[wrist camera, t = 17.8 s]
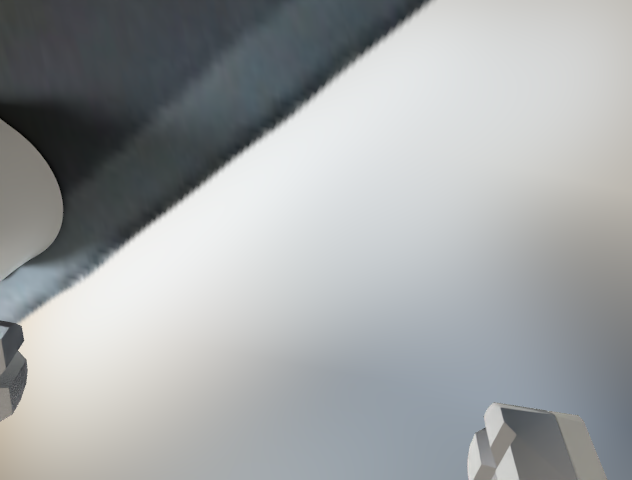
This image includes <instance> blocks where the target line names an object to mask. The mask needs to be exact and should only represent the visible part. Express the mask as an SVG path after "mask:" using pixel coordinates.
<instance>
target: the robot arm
mask: <svg viewBox="0 0 632 480" xmlns="http://www.w3.org/2000/svg"><path fill="white" fill-rule="evenodd" d="M62 219H63V201H62V196H61V192H60V188H59V186H58V183H57V180H56V178H55V176H54V174H53V172H52V170H51V169H50V167H49V165H48V164H47V162H46V161H45V159H44V158H43V157H42V156H41V154H40V153H39V152H38V151H37V150H36V148H35V147H34V146H33V145H32V144H31V143H30V142H29V141H28V140H27V139H26V138H24V137H23V136H22V135H21V134H20V133H18V132H17V131H16V130H15V129H13V128H12V127H11V126H9V125H8V124H6V123H5V122H4V121H2V120H1V119H0V282H1V281H2V280H3V279H4V278H6V277H7V276H8V275H9V274H10V273H12V272H13V271H14V270H16V269H17V268H18V267H20V266H21V265H23V264H24V263H26V262H27V261H29V260H30V259H32V258H34V257H35V256H37V255H39V254H40V253H42V252H43V251H45V250H46V249H47V248H48V247H49V246H50V245H51V244H52V243H53V241H54V240H55V238H56V237H57V235H58V233H59V230H60V228H61V224H62ZM23 342H24V338H23V332H22V326H20V325H18V324H16V323H11V322H6V321H0V421H2V420H4V419H5V418H7V417H8V416H10V415H12V414H13V412H14V411H15V409H16V407H17V405H18V403H19V402H20V400H21V397H22V394H23V391H24V388H25V385H26V380H27V361H26V359H25V358H24V357H23V356H22V355H21V353H20V352H19V351H18V349H19V348H20V346H21V345H22V343H23ZM484 420H485V425H486V427H485V428H484V429H482V430H480V431H478V432H476V433H475V435H474V437H473V440H472V442H471V444H470V447H469V454H468V460H467V469H468V479H469V480H607V478H606V475H605V473H604V470H603V468H602V465H601V463H600V461H599V458H598V456H597V453H596V451H595V449H594V446H593V443H592V441H591V438H590V436H589V433H588V431H587V429H586V426H585V423H584V421H583V420H582V419H581V418H580V417H579V416H578V415H571V414H565V413H558V412H552V411H549V412H548V411H546V410H540V409H533V408H526V407H520V406H514V405H507V404H501V403H493V404H491V405H490V406H489V407H488V409H487V411H486V413H485V415H484Z"/></svg>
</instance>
